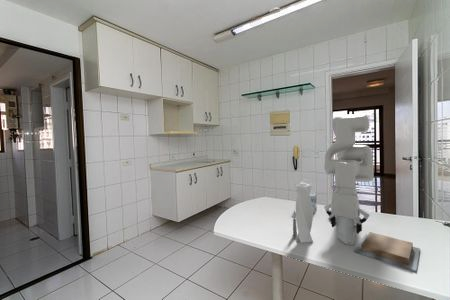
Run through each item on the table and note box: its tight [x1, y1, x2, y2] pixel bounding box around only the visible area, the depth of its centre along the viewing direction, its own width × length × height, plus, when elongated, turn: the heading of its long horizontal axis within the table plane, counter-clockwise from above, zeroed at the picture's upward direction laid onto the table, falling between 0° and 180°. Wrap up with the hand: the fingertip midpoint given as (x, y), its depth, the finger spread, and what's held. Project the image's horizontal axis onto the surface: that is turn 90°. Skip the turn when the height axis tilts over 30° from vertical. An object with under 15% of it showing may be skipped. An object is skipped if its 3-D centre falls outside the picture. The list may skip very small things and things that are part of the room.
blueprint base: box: [353, 231, 421, 273], centre depth 80 cm, size 18×18×3 cm
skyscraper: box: [292, 178, 314, 244], centre depth 92 cm, size 8×8×28 cm
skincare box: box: [336, 216, 356, 246], centre depth 89 cm, size 6×4×12 cm
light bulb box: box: [310, 192, 318, 214], centre depth 127 cm, size 11×7×11 cm, turn 58°
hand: (345, 229), depth 88 cm, fingers open, 9 cm apart
